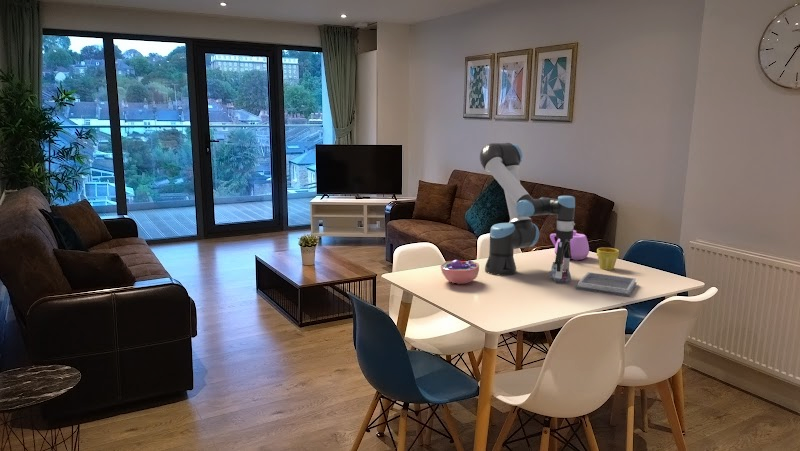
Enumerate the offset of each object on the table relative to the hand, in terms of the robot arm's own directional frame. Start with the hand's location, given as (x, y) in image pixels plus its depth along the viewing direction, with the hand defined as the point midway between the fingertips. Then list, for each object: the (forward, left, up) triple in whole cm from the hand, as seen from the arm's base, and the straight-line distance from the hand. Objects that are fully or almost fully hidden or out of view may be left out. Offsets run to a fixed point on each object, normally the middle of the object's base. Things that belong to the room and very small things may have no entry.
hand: (562, 274), depth 262 cm
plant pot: (+14, +36, -3) cm, 39 cm away
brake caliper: (-1, 0, -3) cm, 3 cm away
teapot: (-7, +50, -3) cm, 51 cm away
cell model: (-39, -28, -3) cm, 48 cm away
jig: (+20, +1, -3) cm, 20 cm away
